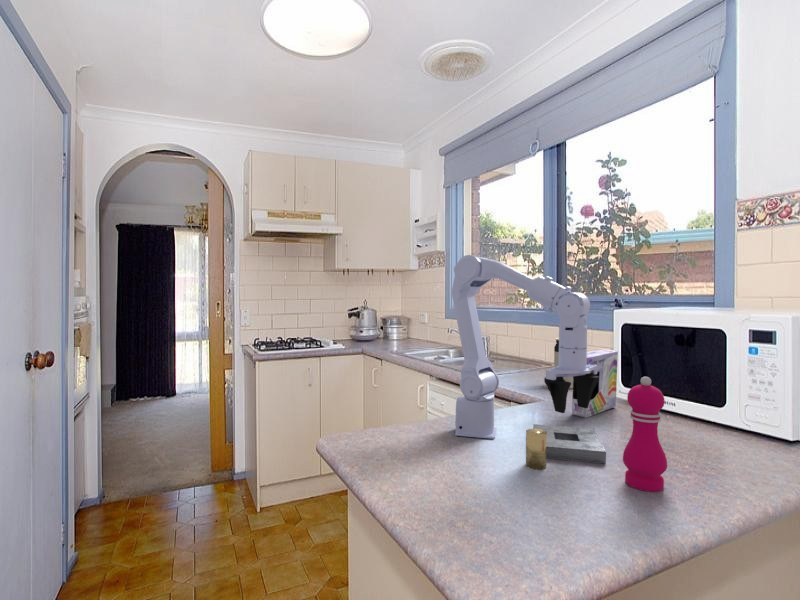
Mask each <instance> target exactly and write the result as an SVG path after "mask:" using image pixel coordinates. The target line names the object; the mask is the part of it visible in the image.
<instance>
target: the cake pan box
mask: <svg viewBox="0 0 800 600" xmlns="http://www.w3.org/2000/svg"><path fill="white" fill-rule="evenodd" d="M618 353H619V351H617V350H613V349H612V350H611V349H607V348H604V349H599V350H591V351H587V364H586V365H589V364H590V365H596V366H597V374H594V375H595V376H599V382H598V383H597V385H596V386H595V388H594V390H593V393H592V396H591V399H590V402H589V406H588V408H582V407H578V403H577V390H576V384H575V381H574V378H573V389H572V398H571V399H572V401H571V402H572V403H571V407H572V408H571V410H572V412H571V414H572V415H573V416H577V417H580V418H585V419H586V418H590V417H593V416H594V415H597V414H600V413H602V412H605V411H607V410H611V409H613V408H615V407H617V379H618V360H619V359H618V357H619V354H618Z"/></svg>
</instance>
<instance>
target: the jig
mask: <svg viewBox="0 0 800 600" xmlns="http://www.w3.org/2000/svg"><path fill="white" fill-rule="evenodd" d="M532 425H533V427H532V429H541V430H544V431H546V432H547V450H546V459H551V458H553V459H554V460H562V461H563V460H564V461H575V462H584V463H595V464H604V465H605V464H607V451H606V449H605V447H604V445H603V443H602V441H601V440H600V437H599V436H598V434H597V432H596V430H595V428H589V427H588V428H587V427H575V426H560V425H548V424H534V423H533V424H532Z"/></svg>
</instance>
